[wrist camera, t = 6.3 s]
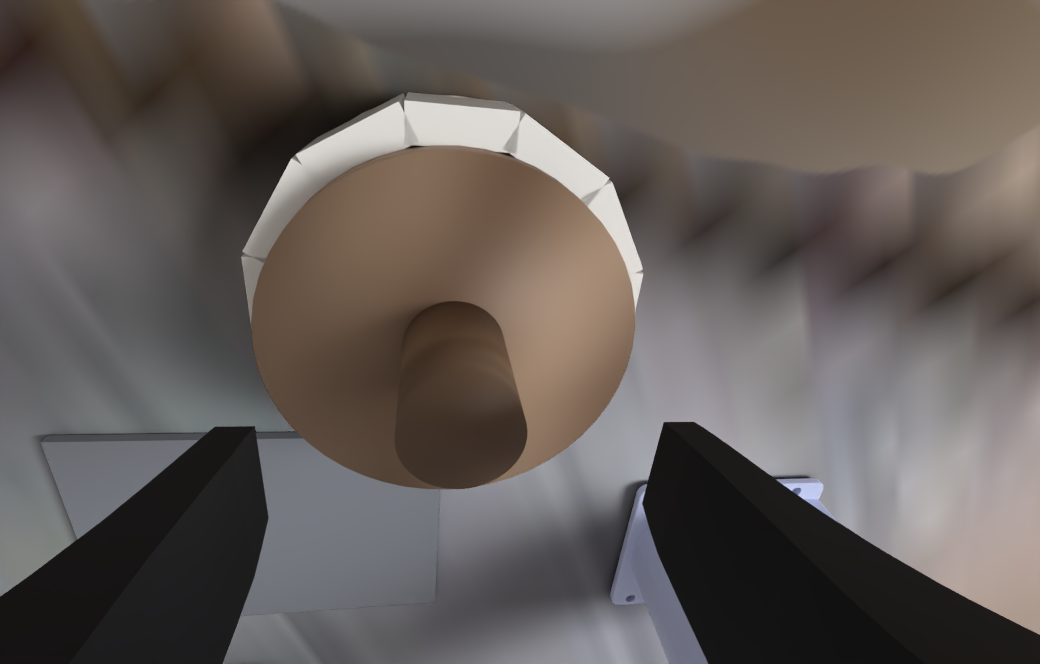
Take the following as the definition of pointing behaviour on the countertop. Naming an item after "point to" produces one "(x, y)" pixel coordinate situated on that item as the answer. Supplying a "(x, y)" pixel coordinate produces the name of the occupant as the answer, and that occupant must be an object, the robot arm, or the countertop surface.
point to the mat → (279, 518)
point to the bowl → (425, 126)
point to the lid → (443, 318)
